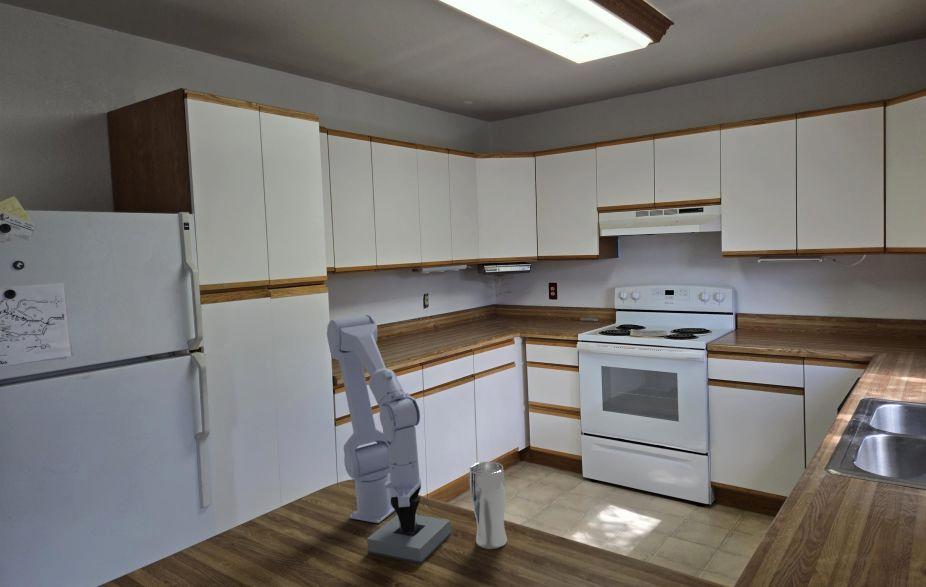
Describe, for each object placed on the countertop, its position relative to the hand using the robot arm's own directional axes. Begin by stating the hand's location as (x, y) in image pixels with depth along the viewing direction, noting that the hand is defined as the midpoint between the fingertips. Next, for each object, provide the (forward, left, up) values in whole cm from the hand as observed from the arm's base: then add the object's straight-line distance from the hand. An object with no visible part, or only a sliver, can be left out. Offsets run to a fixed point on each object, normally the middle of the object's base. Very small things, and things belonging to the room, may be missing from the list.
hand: (409, 526), depth 124 cm
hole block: (0, 0, -4) cm, 4 cm away
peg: (0, 0, -2) cm, 2 cm away
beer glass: (-6, +15, -4) cm, 17 cm away
